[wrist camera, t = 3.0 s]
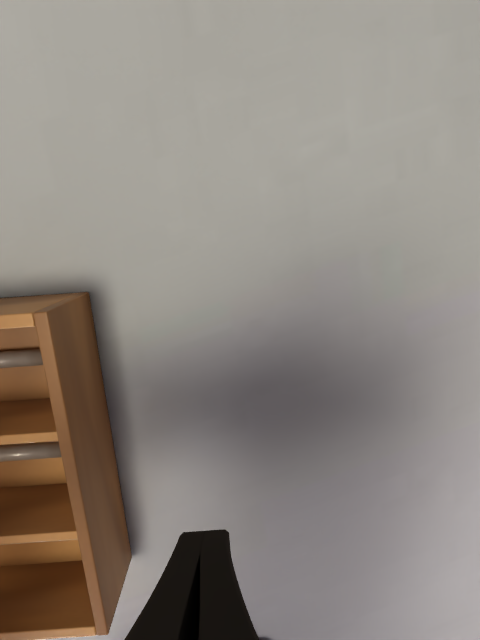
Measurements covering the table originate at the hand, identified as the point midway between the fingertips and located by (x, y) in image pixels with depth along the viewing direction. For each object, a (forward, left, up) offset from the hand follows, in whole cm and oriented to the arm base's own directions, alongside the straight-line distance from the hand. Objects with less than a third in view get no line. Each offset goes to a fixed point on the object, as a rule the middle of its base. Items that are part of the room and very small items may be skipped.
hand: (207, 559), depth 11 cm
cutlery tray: (+10, 0, -8) cm, 12 cm away
